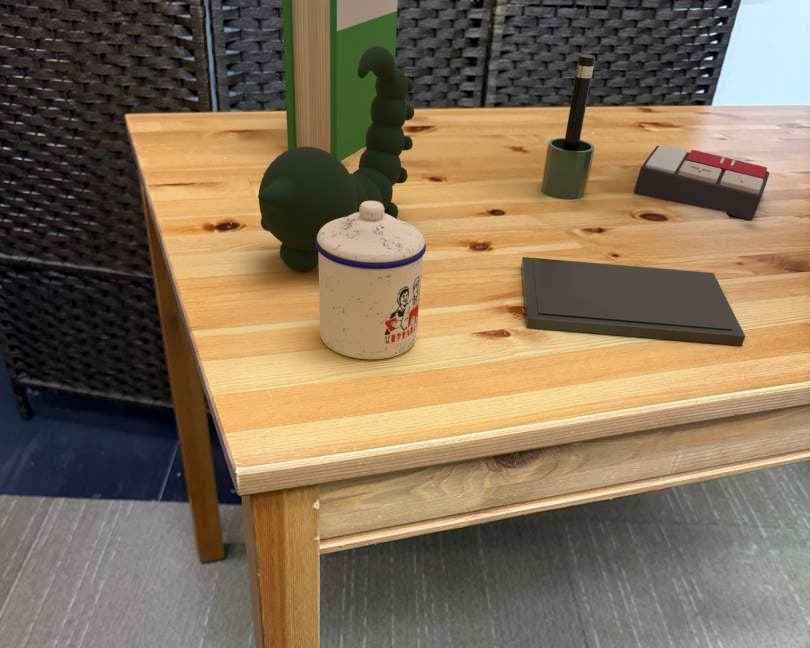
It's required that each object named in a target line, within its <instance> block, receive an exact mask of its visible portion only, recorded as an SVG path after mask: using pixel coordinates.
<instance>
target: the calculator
mask: <svg viewBox="0 0 810 648" xmlns="http://www.w3.org/2000/svg"><path fill="white" fill-rule="evenodd" d="M770 173H771V172H770V171H768V167H767V166H763V165H759V164H755V163H751V162H746V161H743V160H738V159H734V158H729V157H725V156H721V155H716V154H712V153H708V152H704V151H701V150H696V149H691V150H690V152H689V151H688V150H687V149H684V148H680V147H676V146H672V145H667V144H665V143H664V144H663V143H661V144H659V145H656V146H655V147H654V149H653V150H652V152H651V153H650V154H649V156H648V157H647V158H646V160H645V161H644V162H643V163H642V165H641V166H640V169H639V173H638V176H637V179H636V181H635V186H634V190H633V194H634V195H636V196H642V197H646V198H647V197H648V198H653V199H657V200H663V201H673V202H677V203H681V204H685V205H689V206H693V207H698V208H703V209H708V210H713V211H719V212H725V213H726V215H728V216H733V217H737V218H739V219H744V220H748V221H752V220H754V218H755V216H756V213H757V210H758V208H759V205H760V203H761V201H762V197H763V194H764V191H765V189H766V187H767V183H768V180H769V176H770V175H771V174H770Z"/></svg>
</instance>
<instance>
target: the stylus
mask: <svg viewBox="0 0 810 648" xmlns="http://www.w3.org/2000/svg"><path fill="white" fill-rule="evenodd" d="M595 60H596V57H595V55H592V54H588V53H587V54H586V53H582V54H579V55H578V60H577V64H576V65H577V66H576V70H575V76H574V77H575V78H574V84H573V90H572V94H571V102H570V107H569V113H568V118H567V124H566V129H565V135H564V138H565V141H564V146H563V150H568V151H578V147H579V141H580V140H581V135H582V130H583V124H584V119H585V115H586V114H585V113H586V109H587V103H588V97H589V93H590V87H591V82H592V77H593V72H594V65H595Z"/></svg>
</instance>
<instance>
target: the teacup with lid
mask: <svg viewBox="0 0 810 648" xmlns="http://www.w3.org/2000/svg"><path fill="white" fill-rule="evenodd" d="M315 244H316V248H317V250H318V251H319V264H318V304H319V305H318V307H319V308H318V310H319V312H318V313H319V336H320V338H321V340H322V342H323V343H324V344H325V346H326V347H328V348H329V349H330V350H332V351H333V352H335V353H337V354H339V355H342V356H345V357H349V358H354V359H359V360H384V359H390V358H393V357H396V356H398V355H401V354H404V353H406V352H407V351H408V350H410V349H411V348H412V347H413V346H414V344H415V343H416V341H417V338H418V337H417V336H418V327H419V325H418V323H419V311H420V298H421V297H420V296H421V283H422V269H423V268H422V267H423V256H424V255H425V253H426V251H427V244H426V240H425V238H424V236H423V234H422V232H421V231H420V229H418V228H417V227H416V226H414V225H412V224H411V223H408V222H406V221H403V220H401V219H397V218H396V219H395V218H394V217H392V216H390V215H388V214H386V213H384V206H383V205H382V204H381V203H380V202H377V201H365V202H363V203H362V204H361V205H360V208H359V212H357V213H354V214H351V215H349V216H348V217H343V218H339V219H336V220H333V221H331V222H329V223H327V224H325V225H324V226H323V227H322V228H321V229H320V231H319V232H318V235H317V238H316V241H315Z"/></svg>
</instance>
